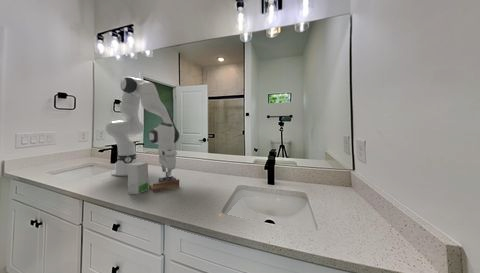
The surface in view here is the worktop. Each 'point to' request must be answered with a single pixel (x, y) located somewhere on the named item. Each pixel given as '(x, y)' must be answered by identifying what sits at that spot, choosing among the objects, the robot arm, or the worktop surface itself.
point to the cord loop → (166, 179)
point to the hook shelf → (164, 185)
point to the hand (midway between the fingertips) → (166, 173)
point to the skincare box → (137, 177)
